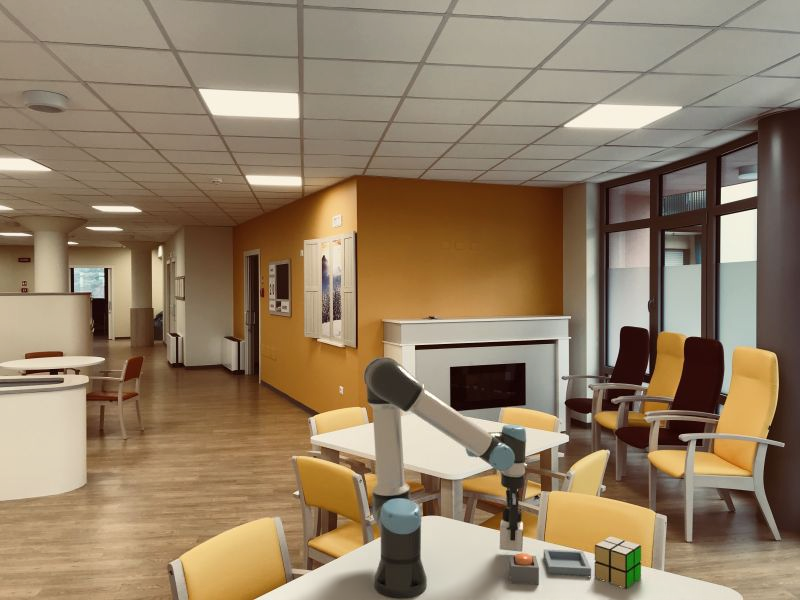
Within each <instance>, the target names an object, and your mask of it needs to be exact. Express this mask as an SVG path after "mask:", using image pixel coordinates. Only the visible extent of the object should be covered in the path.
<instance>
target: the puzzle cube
mask: <svg viewBox="0 0 800 600" xmlns="http://www.w3.org/2000/svg"><path fill="white" fill-rule="evenodd" d="M641 561H642V545H641V544H638V543H635V542H632V541H627V540H624V539H622V538H619V537H614V536H609V537H606V538H605V539H603V540H601V541H600V542H598V543H596V544H595V545H594V578H595V579H597V578H598V580H600V579H601V581H603V580H604V581H603V582H606V581H607V582H606V583H608V582H610V584H611V583H612V585H614V584H615V586H617V587H620V586H621V587H620V588H622V587H623V588H622V589H625V588H626V589H628V588H629V587H630V586H632V585H633V584H634V583H636V582H638V581H639V580H640V579H641V578H642V562H641Z"/></svg>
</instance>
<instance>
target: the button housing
mask: <svg viewBox="0 0 800 600" xmlns="http://www.w3.org/2000/svg"><path fill="white" fill-rule="evenodd" d="M515 555H516V554H508V573H509V580H510V584H519V585H537V586H540V585H539V584H540V566H539V563H538V559H537V556H536V555H531V556H532V566H529V565H515Z"/></svg>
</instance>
